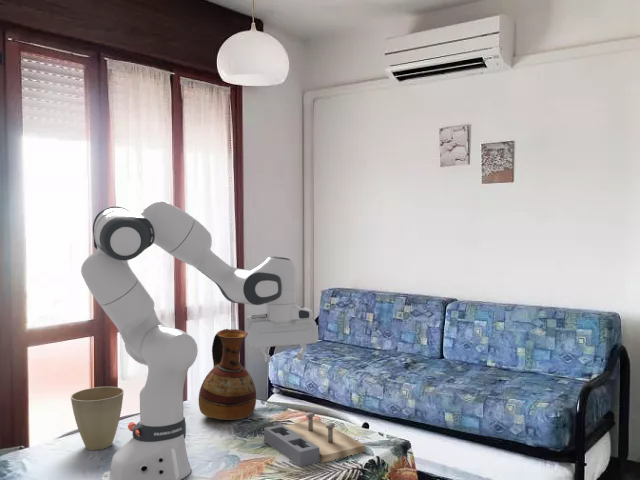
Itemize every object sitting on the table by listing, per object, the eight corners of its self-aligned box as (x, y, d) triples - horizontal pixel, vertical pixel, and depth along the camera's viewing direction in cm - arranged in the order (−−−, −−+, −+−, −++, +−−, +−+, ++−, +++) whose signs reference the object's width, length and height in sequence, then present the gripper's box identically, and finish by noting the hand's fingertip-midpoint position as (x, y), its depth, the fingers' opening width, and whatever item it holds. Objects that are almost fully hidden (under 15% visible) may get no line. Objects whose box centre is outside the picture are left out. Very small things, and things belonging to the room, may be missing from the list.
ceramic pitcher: (219, 430, 189) (217, 337, 188) (187, 416, 204) (185, 330, 203) (268, 416, 202) (266, 329, 202) (234, 404, 217) (233, 323, 216)
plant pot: (63, 446, 177) (62, 393, 177) (111, 433, 188) (109, 384, 187) (85, 459, 167) (83, 403, 166) (134, 445, 177) (132, 392, 177)
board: (323, 462, 161) (322, 436, 160) (278, 433, 185) (277, 410, 185) (365, 452, 168) (365, 427, 167) (316, 425, 192) (316, 403, 192)
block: (300, 466, 158) (300, 452, 158) (264, 441, 178) (264, 428, 178) (319, 462, 161) (319, 447, 161) (282, 437, 181) (282, 424, 181)
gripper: (246, 316, 164) (248, 366, 164) (318, 311, 168) (320, 360, 168) (244, 313, 170) (247, 361, 171) (314, 308, 174) (316, 355, 174)
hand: (284, 360), depth 169 cm, fingers open, 8 cm apart
